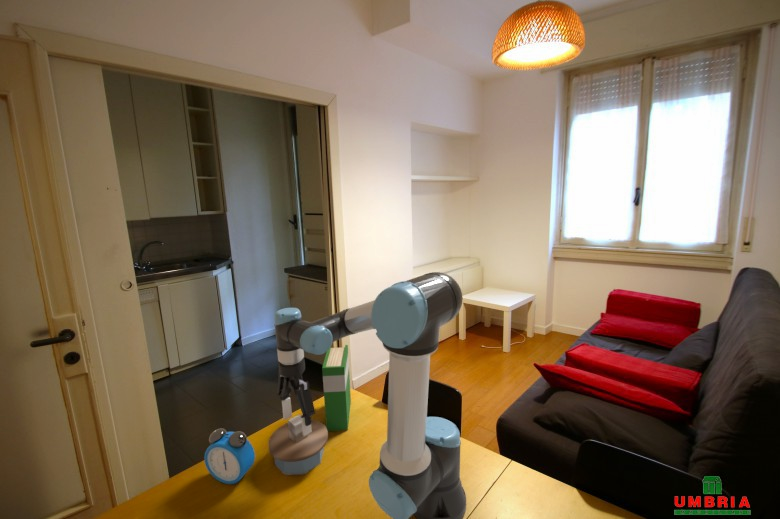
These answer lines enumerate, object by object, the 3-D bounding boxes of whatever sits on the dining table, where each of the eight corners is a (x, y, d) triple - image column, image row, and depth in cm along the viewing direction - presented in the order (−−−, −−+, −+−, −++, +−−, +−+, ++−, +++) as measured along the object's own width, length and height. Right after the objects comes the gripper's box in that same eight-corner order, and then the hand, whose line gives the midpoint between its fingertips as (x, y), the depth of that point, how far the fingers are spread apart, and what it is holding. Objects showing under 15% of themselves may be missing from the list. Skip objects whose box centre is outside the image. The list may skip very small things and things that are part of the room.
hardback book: (332, 402, 144) (328, 345, 140) (350, 401, 145) (347, 344, 140) (326, 431, 127) (322, 368, 122) (347, 430, 127) (344, 367, 123)
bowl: (331, 456, 115) (330, 439, 114) (292, 482, 105) (290, 464, 104) (306, 436, 125) (305, 420, 124) (268, 458, 115) (266, 441, 114)
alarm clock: (206, 480, 107) (199, 435, 104) (221, 465, 112) (215, 422, 110) (245, 489, 103) (239, 442, 100) (258, 472, 109) (253, 428, 106)
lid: (339, 439, 114) (338, 418, 112) (288, 471, 101) (286, 449, 100) (307, 415, 126) (305, 396, 125) (258, 441, 114) (256, 421, 112)
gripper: (324, 367, 103) (329, 436, 107) (283, 344, 119) (288, 405, 123) (301, 377, 98) (307, 449, 102) (261, 352, 114) (267, 415, 118)
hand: (297, 425), depth 113 cm, fingers open, 10 cm apart
